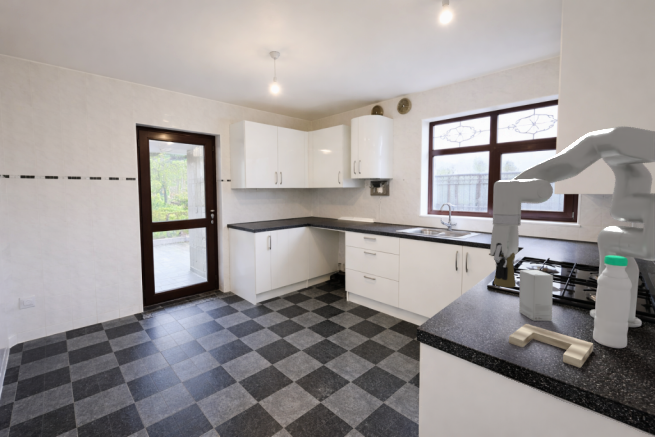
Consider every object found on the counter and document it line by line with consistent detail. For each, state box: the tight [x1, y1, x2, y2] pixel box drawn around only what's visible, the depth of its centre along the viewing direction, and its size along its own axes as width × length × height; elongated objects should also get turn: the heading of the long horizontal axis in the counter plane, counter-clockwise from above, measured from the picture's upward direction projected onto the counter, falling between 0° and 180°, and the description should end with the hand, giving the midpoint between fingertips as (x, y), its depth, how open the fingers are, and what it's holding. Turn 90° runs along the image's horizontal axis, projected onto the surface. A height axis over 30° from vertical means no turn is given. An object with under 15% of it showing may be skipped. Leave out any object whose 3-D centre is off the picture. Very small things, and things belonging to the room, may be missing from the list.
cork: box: [493, 253, 517, 288], centre depth 96 cm, size 6×6×11 cm
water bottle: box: [592, 255, 632, 349], centre depth 85 cm, size 7×7×25 cm
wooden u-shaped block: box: [508, 323, 594, 368], centre depth 84 cm, size 13×16×2 cm
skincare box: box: [518, 269, 554, 322], centre depth 104 cm, size 8×7×16 cm
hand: (504, 277), depth 96 cm, fingers closed on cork, 4 cm apart
